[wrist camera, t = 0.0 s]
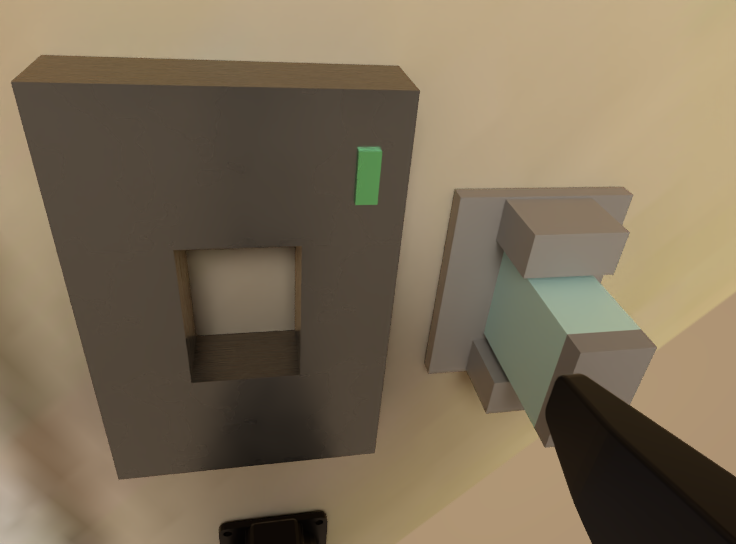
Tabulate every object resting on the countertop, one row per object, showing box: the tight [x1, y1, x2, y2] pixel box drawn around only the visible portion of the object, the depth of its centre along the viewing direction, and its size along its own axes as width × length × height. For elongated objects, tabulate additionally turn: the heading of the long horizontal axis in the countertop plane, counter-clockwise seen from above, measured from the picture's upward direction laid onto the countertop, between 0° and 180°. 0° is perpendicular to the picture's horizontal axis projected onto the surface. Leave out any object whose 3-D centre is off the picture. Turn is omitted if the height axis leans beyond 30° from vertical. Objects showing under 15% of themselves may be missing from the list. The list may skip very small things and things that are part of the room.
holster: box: [425, 187, 633, 414], centre depth 26 cm, size 10×8×4 cm
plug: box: [484, 252, 657, 447], centre depth 24 cm, size 5×3×7 cm, turn 176°
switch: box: [11, 55, 420, 480], centre depth 23 cm, size 18×12×3 cm, turn 176°
